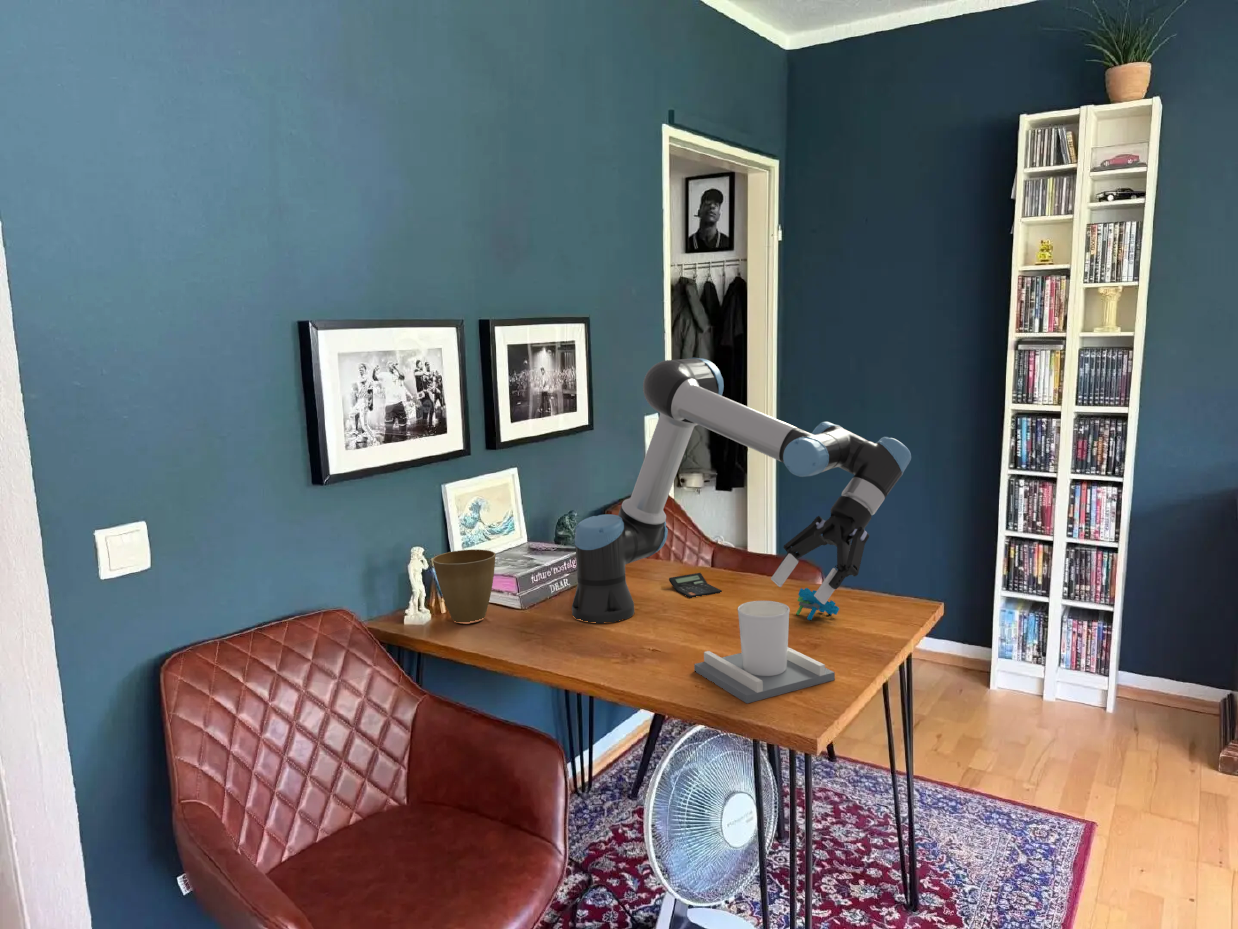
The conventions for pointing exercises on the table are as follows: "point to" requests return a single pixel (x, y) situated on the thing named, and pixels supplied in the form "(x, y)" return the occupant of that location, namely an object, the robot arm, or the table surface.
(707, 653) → the grey tray with rails
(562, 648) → the table surface
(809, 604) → the gear
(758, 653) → the candle holder
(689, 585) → the calculator
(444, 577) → the plant pot
